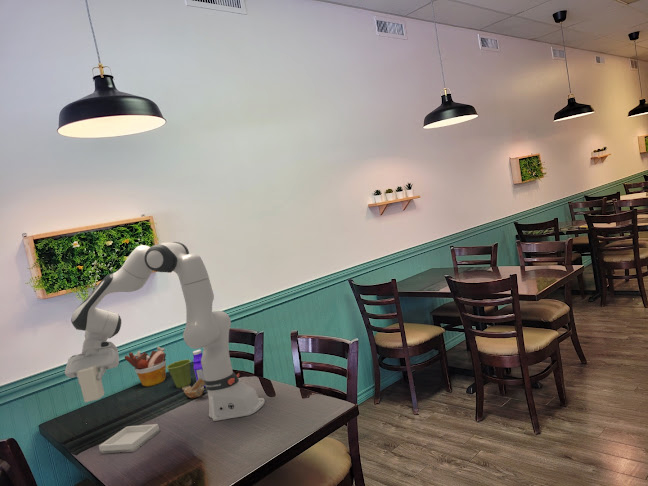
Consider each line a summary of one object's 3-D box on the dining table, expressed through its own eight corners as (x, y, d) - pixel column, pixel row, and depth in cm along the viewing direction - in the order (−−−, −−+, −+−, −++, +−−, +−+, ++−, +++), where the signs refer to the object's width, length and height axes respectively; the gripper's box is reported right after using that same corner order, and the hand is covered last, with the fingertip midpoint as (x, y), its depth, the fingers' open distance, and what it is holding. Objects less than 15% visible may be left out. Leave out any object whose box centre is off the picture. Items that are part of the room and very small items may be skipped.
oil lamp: (195, 403, 211) (190, 381, 210) (177, 396, 227) (172, 375, 227) (213, 395, 216) (209, 374, 216) (194, 389, 233) (189, 368, 232)
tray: (159, 431, 187) (158, 423, 187) (133, 451, 173) (131, 443, 173) (128, 433, 192) (126, 426, 192) (100, 453, 177) (98, 445, 177)
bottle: (207, 388, 230) (199, 352, 229) (196, 389, 231) (188, 354, 230) (213, 382, 237) (205, 347, 236) (203, 383, 238) (195, 349, 237)
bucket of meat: (163, 375, 272) (154, 340, 270) (178, 377, 260) (169, 341, 259) (128, 389, 257) (120, 352, 256) (143, 392, 246) (134, 354, 245)
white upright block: (104, 394, 193) (97, 364, 192) (99, 399, 187) (91, 369, 186) (90, 397, 192) (83, 368, 192) (84, 402, 187) (77, 372, 186)
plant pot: (171, 385, 246) (166, 364, 246) (195, 378, 250) (190, 357, 249) (171, 392, 235) (165, 370, 234) (196, 385, 238) (190, 362, 238)
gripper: (64, 352, 195) (58, 384, 186) (115, 341, 196) (112, 371, 187) (72, 360, 200) (67, 391, 191) (122, 348, 201) (119, 379, 191)
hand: (89, 381), depth 189 cm, fingers closed on white upright block, 5 cm apart
